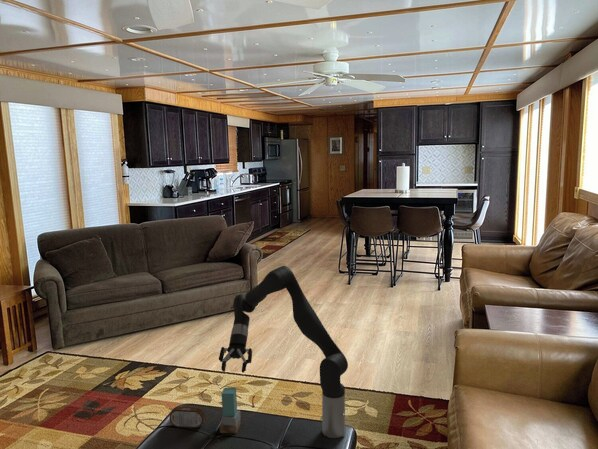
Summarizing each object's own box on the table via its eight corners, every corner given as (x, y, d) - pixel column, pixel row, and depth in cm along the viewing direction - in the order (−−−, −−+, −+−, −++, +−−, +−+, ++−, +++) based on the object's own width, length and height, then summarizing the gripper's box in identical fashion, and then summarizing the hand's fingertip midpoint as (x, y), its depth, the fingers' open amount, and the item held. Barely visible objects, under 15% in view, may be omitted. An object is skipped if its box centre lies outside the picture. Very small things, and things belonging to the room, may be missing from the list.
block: (237, 409, 194) (235, 387, 193) (234, 416, 189) (233, 393, 188) (225, 409, 195) (224, 387, 193) (222, 416, 190) (221, 393, 189)
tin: (205, 425, 195) (205, 406, 194) (203, 429, 192) (202, 410, 191) (171, 423, 197) (170, 405, 196) (169, 427, 194) (168, 409, 193)
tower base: (240, 424, 196) (240, 417, 195) (236, 434, 189) (236, 426, 189) (224, 423, 197) (224, 416, 196) (220, 433, 190) (219, 425, 189)
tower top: (240, 418, 194) (240, 410, 194) (235, 426, 189) (235, 418, 188) (227, 416, 196) (227, 409, 195) (222, 424, 190) (221, 416, 189)
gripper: (221, 332, 205) (215, 367, 195) (253, 333, 203) (247, 369, 193) (225, 339, 211) (219, 373, 201) (255, 340, 209) (250, 375, 199)
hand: (233, 371), depth 197 cm, fingers open, 8 cm apart
